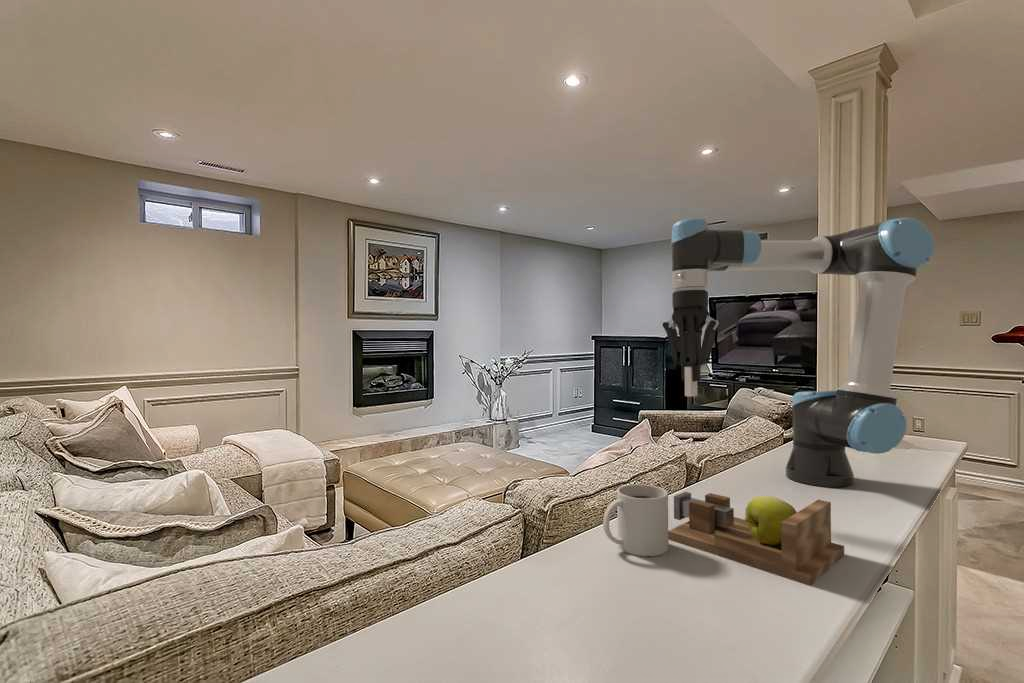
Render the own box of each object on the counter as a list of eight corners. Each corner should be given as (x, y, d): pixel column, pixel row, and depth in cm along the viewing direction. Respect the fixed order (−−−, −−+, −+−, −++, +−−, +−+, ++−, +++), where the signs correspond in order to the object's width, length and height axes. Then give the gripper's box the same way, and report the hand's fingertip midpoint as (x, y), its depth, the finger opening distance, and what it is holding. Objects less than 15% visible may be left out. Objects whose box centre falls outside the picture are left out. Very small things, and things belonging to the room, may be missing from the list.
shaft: (685, 513, 103) (685, 491, 103) (735, 527, 95) (735, 503, 95) (674, 518, 100) (673, 496, 100) (724, 533, 92) (724, 509, 92)
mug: (669, 539, 94) (668, 486, 94) (667, 561, 85) (666, 502, 85) (610, 533, 98) (609, 481, 98) (602, 553, 89) (601, 496, 89)
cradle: (710, 518, 105) (710, 477, 105) (844, 554, 87) (843, 505, 87) (668, 539, 94) (667, 493, 94) (809, 585, 76) (809, 529, 76)
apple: (732, 537, 91) (732, 493, 91) (774, 531, 93) (774, 488, 93) (765, 555, 83) (765, 507, 83) (810, 548, 86) (809, 501, 86)
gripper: (655, 291, 116) (656, 395, 116) (709, 286, 106) (710, 399, 106) (673, 293, 120) (674, 392, 121) (726, 288, 111) (727, 396, 111)
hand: (691, 395), depth 113 cm, fingers closed
